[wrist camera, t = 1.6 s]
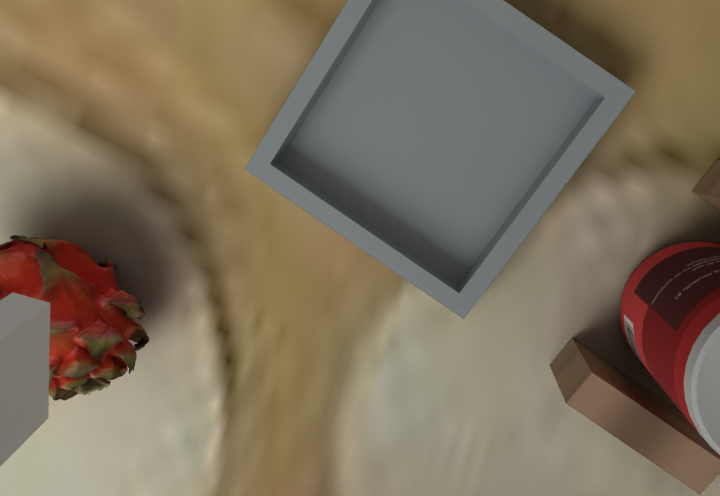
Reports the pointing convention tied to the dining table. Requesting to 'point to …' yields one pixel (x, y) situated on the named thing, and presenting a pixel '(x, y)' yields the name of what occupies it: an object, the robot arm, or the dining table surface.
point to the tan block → (640, 400)
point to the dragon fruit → (76, 312)
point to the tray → (437, 135)
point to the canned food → (679, 328)
